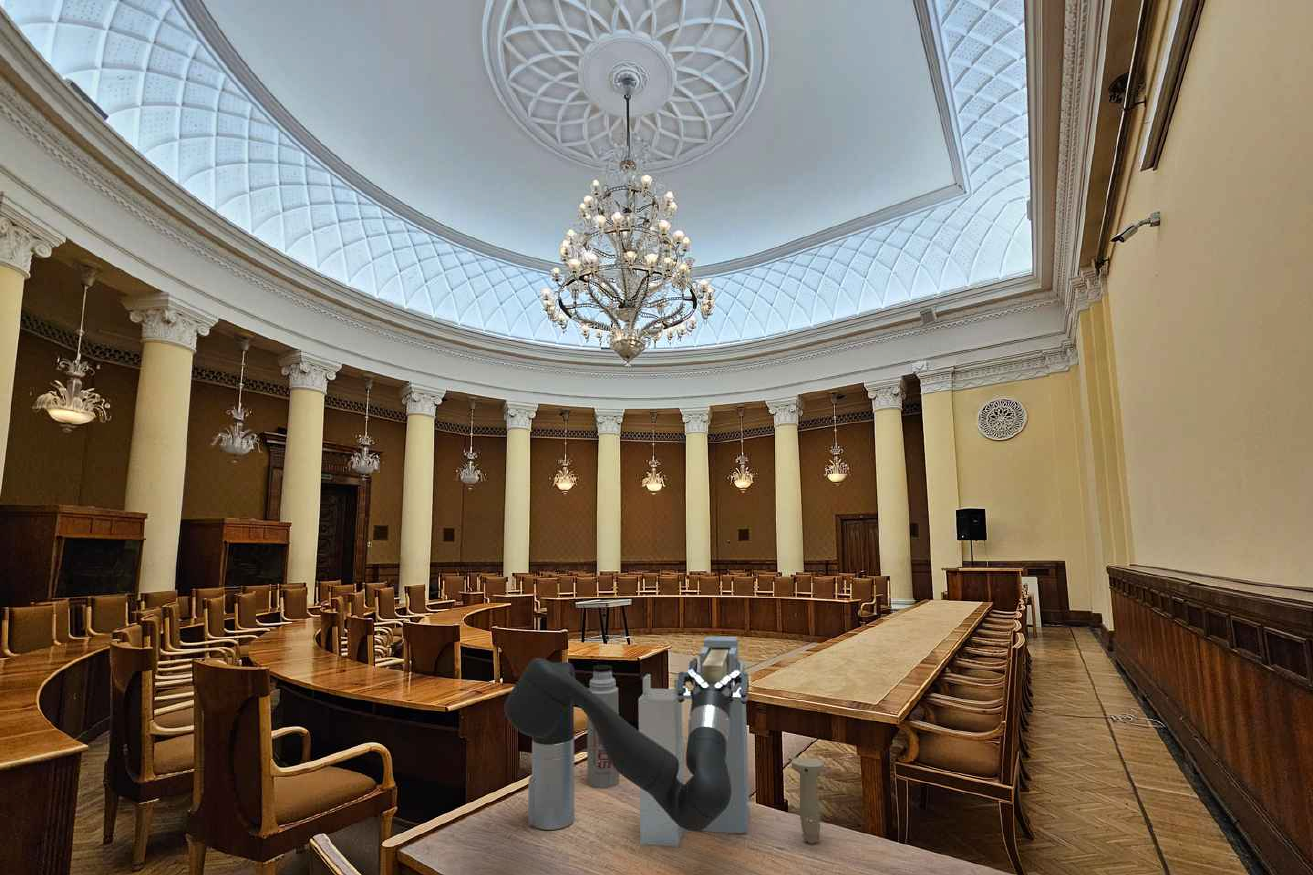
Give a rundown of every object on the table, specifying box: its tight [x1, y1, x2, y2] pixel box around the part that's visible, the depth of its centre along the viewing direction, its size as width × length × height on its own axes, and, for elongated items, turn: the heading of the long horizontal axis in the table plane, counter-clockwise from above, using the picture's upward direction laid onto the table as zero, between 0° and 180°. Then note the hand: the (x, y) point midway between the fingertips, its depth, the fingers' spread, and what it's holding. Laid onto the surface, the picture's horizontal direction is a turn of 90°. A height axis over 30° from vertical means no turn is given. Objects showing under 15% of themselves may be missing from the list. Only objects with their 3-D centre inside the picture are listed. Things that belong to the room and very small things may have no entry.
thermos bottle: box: [586, 664, 620, 789], centre depth 166 cm, size 8×8×28 cm
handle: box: [791, 757, 825, 845], centre depth 133 cm, size 5×6×15 cm
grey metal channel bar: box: [637, 673, 685, 848], centre depth 137 cm, size 8×9×31 cm
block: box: [702, 647, 731, 682], centre depth 141 cm, size 4×22×4 cm, turn 169°
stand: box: [697, 636, 751, 834], centre depth 144 cm, size 10×12×38 cm
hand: (715, 661), depth 137 cm, fingers open, 8 cm apart
